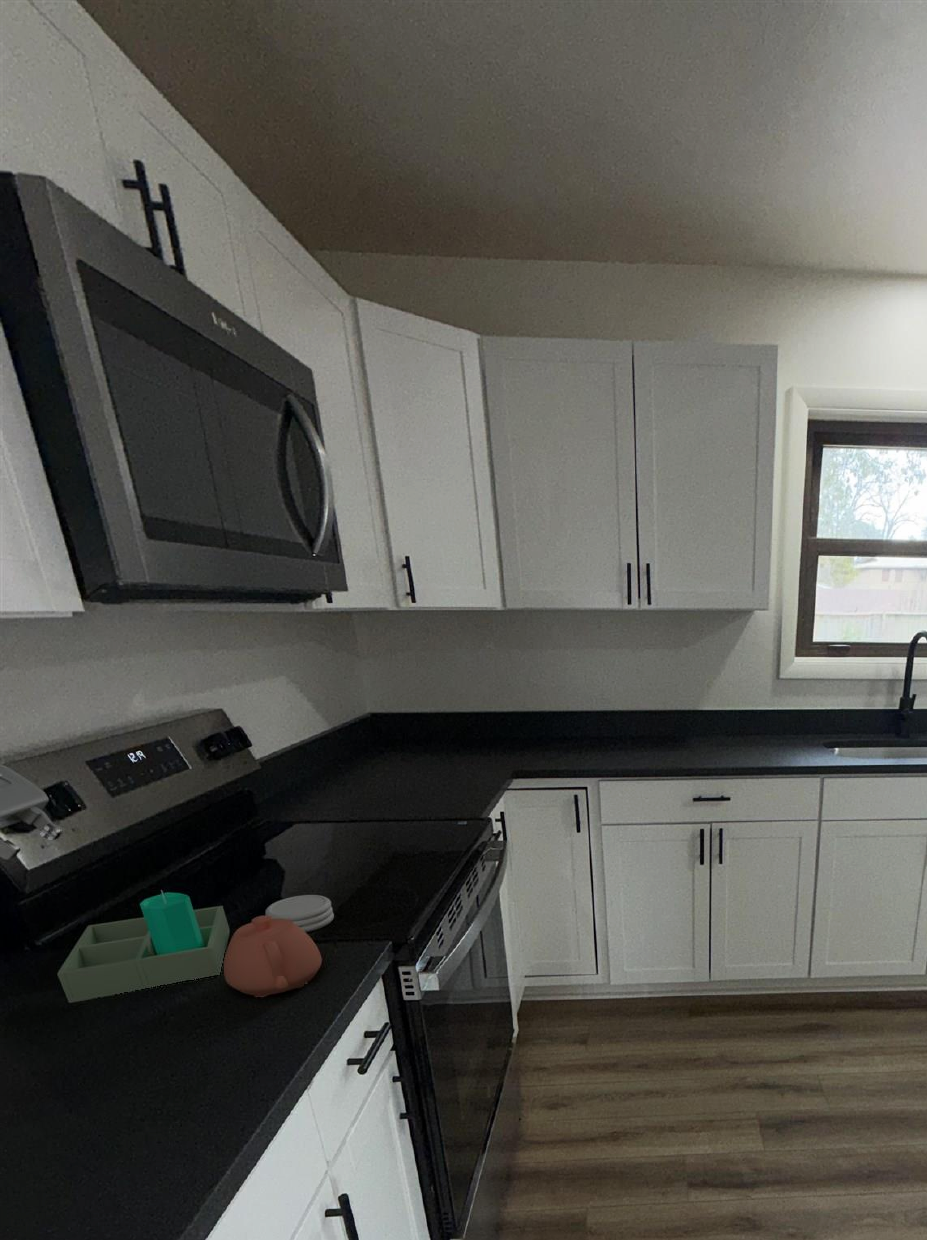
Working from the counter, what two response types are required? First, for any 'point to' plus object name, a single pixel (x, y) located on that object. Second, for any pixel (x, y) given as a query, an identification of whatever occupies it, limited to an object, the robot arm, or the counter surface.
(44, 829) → the robot arm
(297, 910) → the grey round flat stack
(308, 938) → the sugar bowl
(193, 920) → the candle
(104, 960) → the grid
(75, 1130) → the counter surface
